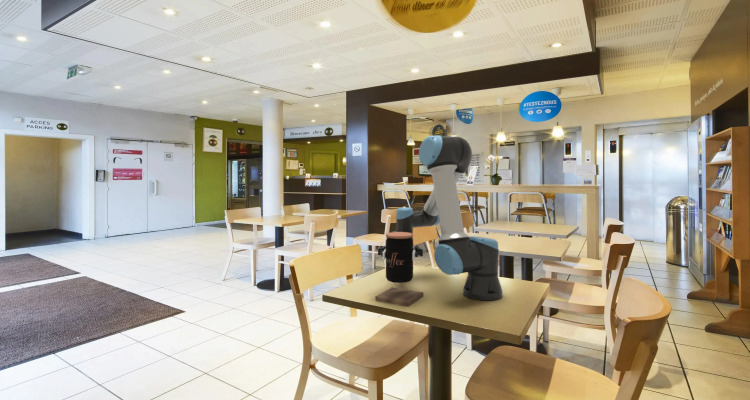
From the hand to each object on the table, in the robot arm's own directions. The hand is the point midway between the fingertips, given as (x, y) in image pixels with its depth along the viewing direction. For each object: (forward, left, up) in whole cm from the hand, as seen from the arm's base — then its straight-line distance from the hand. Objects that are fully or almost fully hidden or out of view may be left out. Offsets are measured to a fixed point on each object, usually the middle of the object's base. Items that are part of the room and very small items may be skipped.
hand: (398, 256), depth 145 cm
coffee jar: (+2, -4, -10) cm, 11 cm away
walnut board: (+1, -4, -17) cm, 18 cm away
